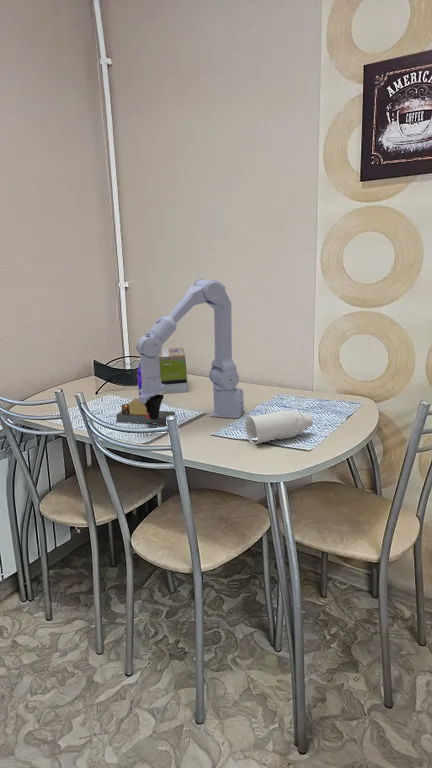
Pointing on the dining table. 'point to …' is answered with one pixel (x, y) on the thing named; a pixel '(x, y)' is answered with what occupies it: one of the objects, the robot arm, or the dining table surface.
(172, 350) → the tea box
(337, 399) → the dining table surface
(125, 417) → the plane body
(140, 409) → the tan rectangular block
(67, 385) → the dining table surface
